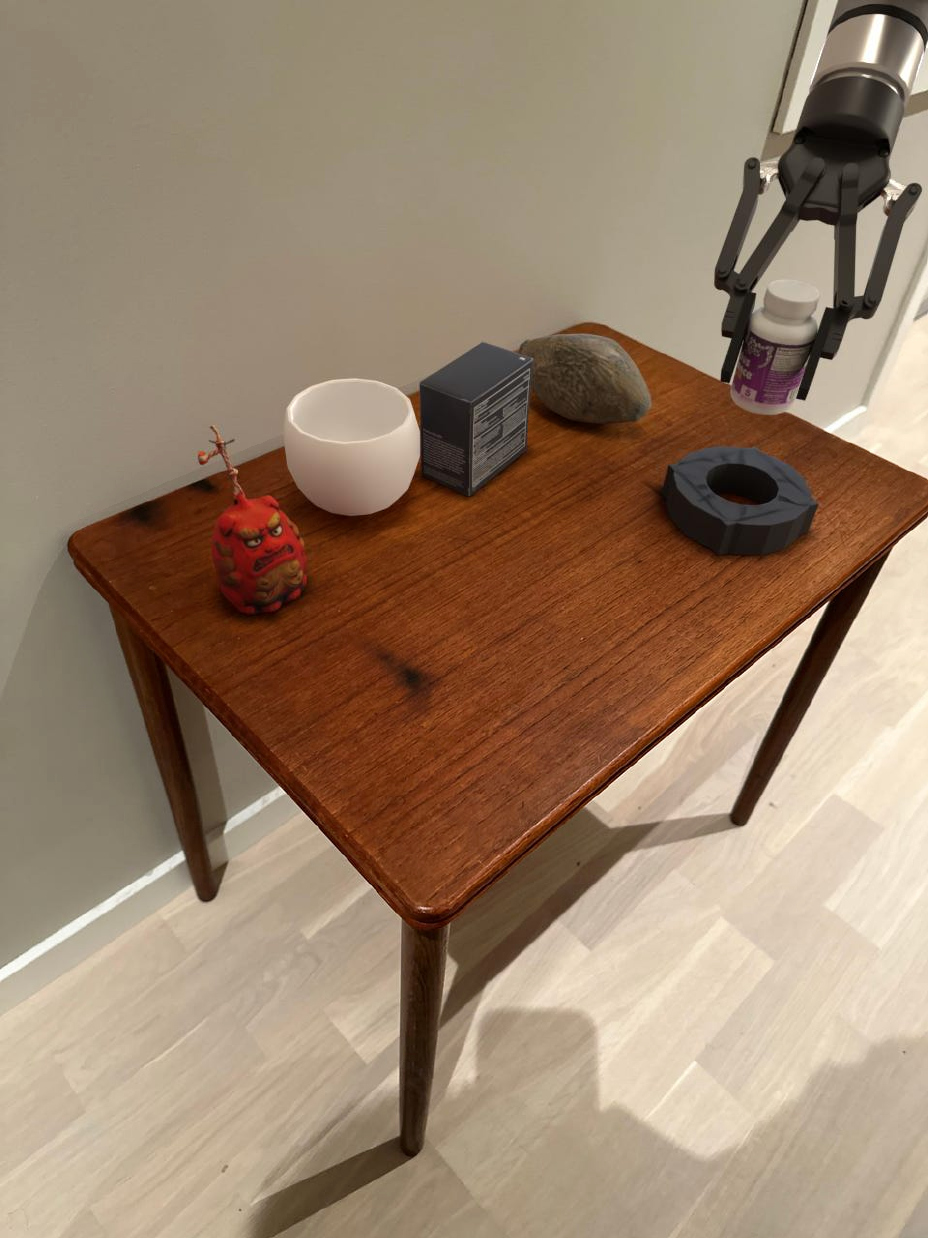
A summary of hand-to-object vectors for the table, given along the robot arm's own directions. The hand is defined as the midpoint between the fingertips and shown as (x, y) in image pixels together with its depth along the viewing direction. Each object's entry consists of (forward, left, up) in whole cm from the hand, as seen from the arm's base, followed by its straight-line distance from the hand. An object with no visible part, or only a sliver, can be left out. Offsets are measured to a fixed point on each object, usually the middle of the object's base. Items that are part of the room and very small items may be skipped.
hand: (763, 385), depth 69 cm
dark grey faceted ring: (+4, -4, -16) cm, 17 cm away
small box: (+20, +16, -16) cm, 30 cm away
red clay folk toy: (+8, +40, -16) cm, 44 cm away
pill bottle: (+3, -3, -4) cm, 5 cm away
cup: (+18, +29, -16) cm, 38 cm away
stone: (+26, +1, -16) cm, 30 cm away
